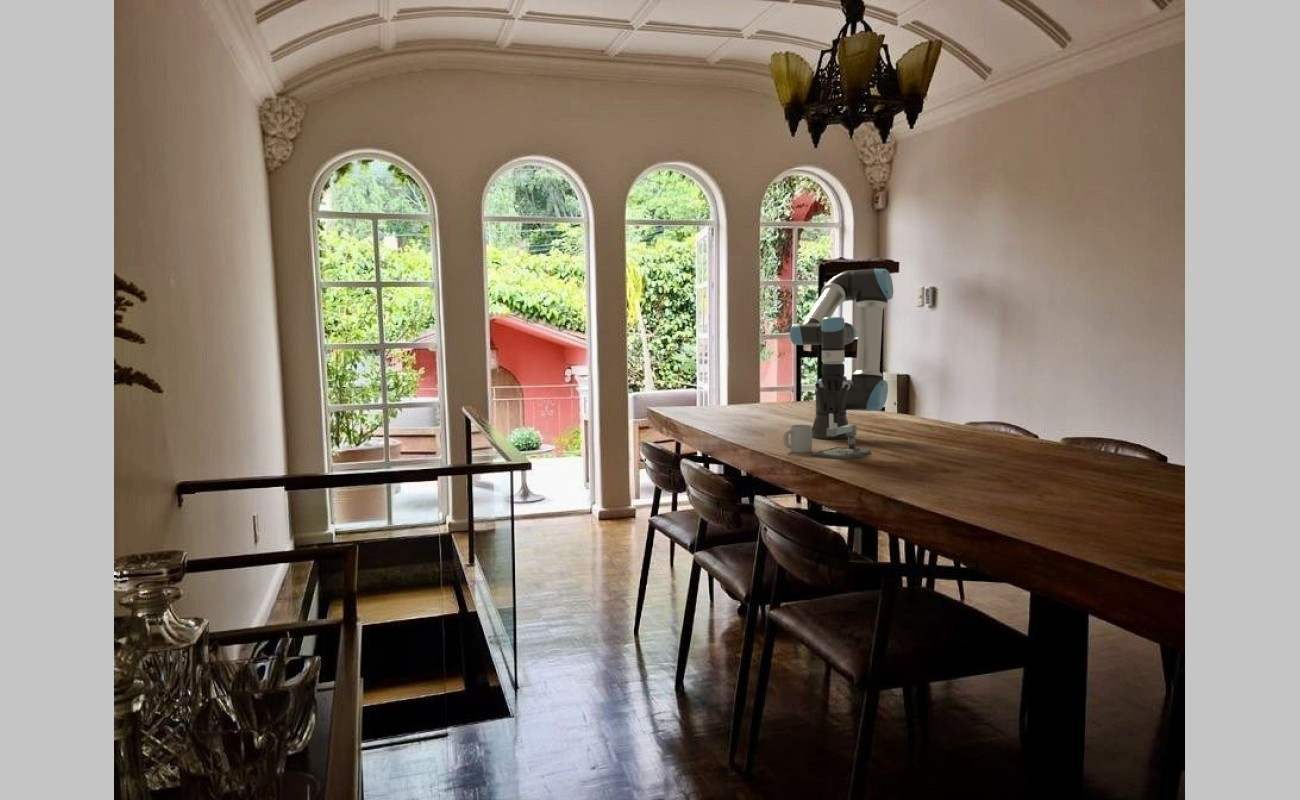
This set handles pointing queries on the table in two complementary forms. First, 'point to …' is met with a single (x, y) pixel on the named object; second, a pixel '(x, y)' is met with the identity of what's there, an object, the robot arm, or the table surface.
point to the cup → (799, 438)
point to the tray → (843, 451)
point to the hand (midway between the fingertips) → (833, 432)
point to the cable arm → (842, 430)
